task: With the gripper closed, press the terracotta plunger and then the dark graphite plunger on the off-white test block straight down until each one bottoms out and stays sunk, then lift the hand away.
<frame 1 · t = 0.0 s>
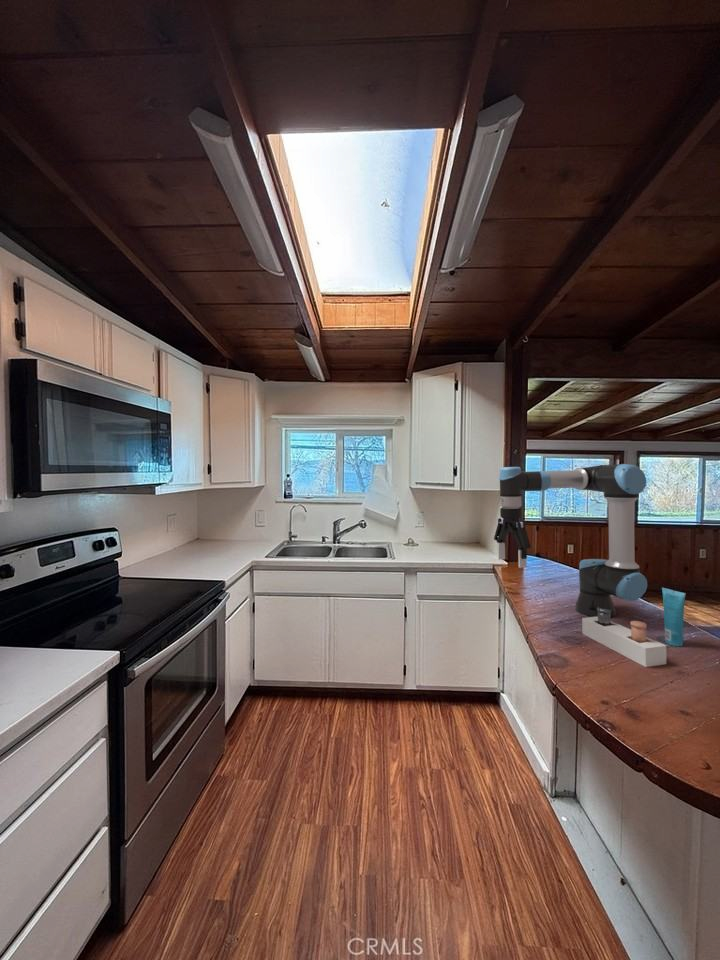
hand: (511, 563, 145), 28 cm above the table, fingers open, 13 cm apart
test block: (620, 647, 134), on the table
tube: (673, 644, 136), on the table
plunger rust: (638, 634, 127), point 8 cm above the table, slide at 0.0 cm
plunger graphite: (604, 618, 141), point 8 cm above the table, slide at 0.0 cm
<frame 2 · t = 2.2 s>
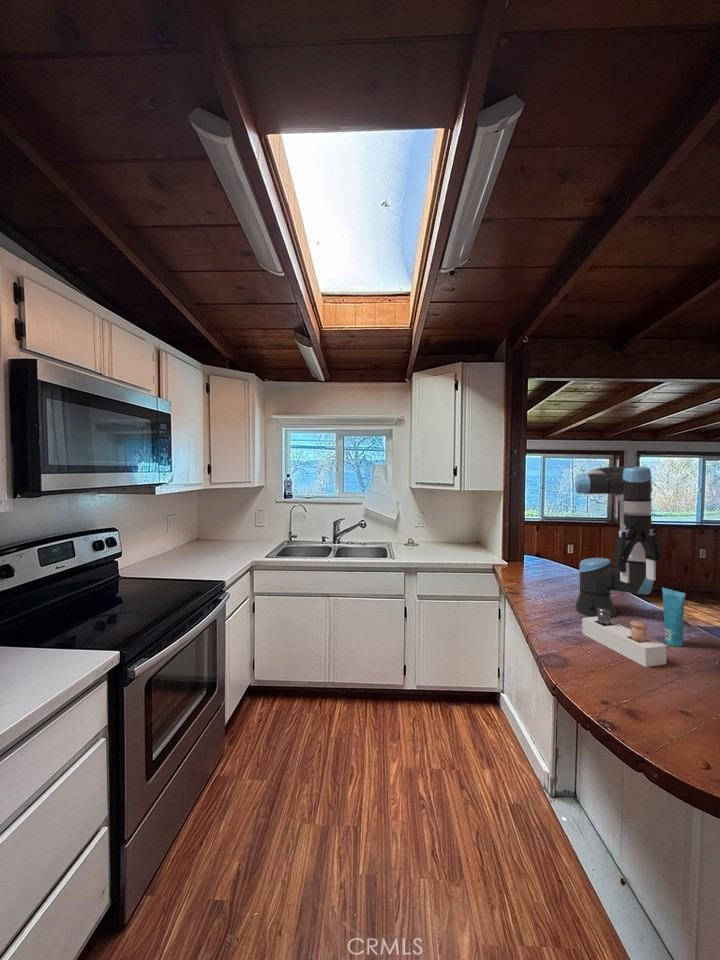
hand: (637, 580, 127), 26 cm above the table, fingers open, 10 cm apart
nothing on the table moved.
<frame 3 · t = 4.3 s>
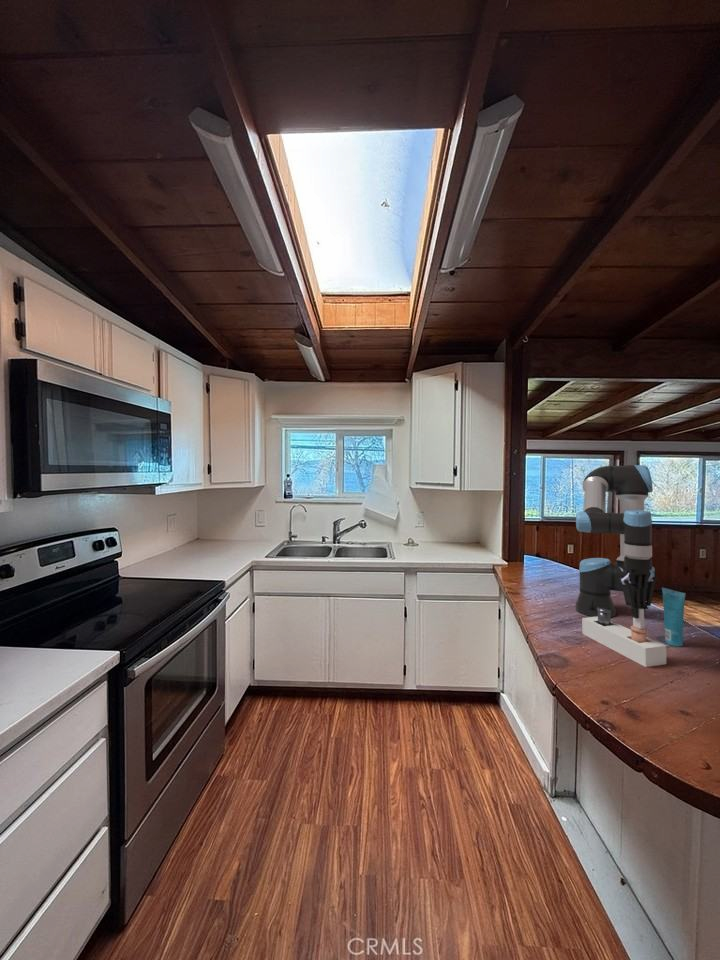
hand: (638, 627, 127), 10 cm above the table, fingers closed
plunger rust: (638, 638, 127), point 6 cm above the table, slide at 1.5 cm, touching gripper
everything else where it was.
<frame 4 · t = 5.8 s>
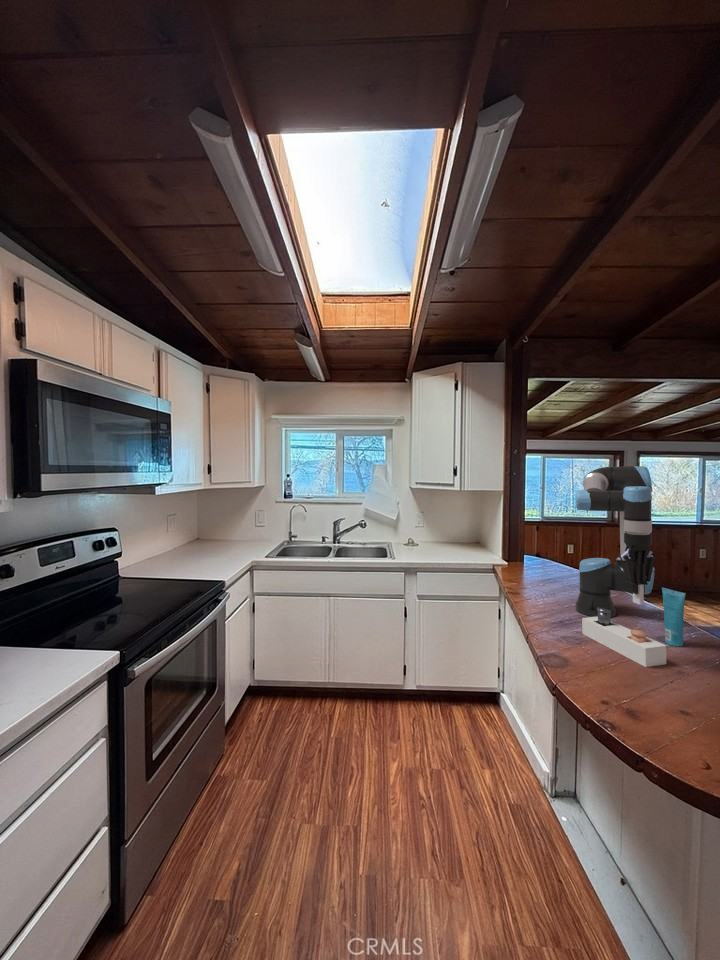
hand: (638, 603, 127), 18 cm above the table, fingers closed
plunger rust: (638, 642, 127), point 5 cm above the table, slide at 2.9 cm
everything else where it was.
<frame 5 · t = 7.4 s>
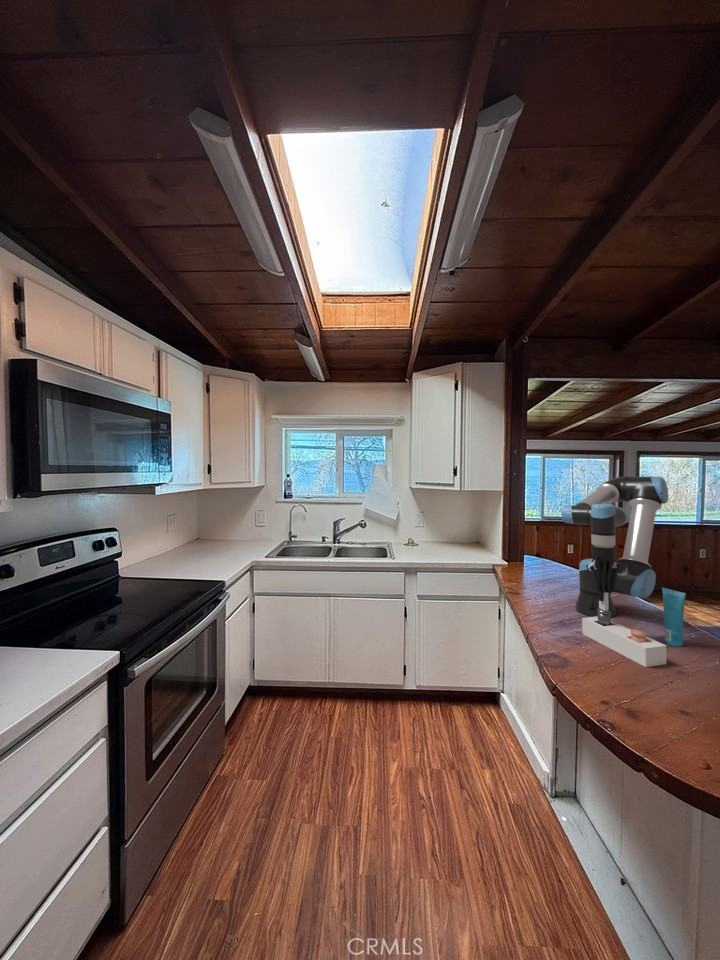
hand: (603, 609, 141), 11 cm above the table, fingers closed
plunger graphite: (604, 619, 141), point 7 cm above the table, slide at 0.4 cm, touching gripper
everything else where it was.
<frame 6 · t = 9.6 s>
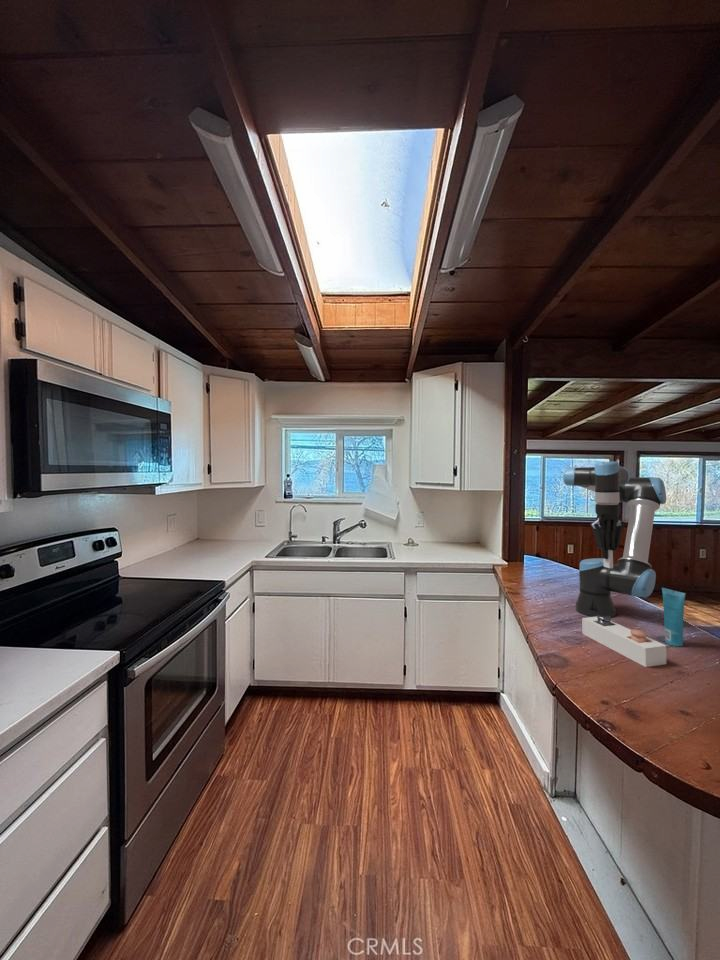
hand: (608, 567, 140), 27 cm above the table, fingers closed
plunger graphite: (604, 626, 141), point 5 cm above the table, slide at 2.9 cm
everything else where it was.
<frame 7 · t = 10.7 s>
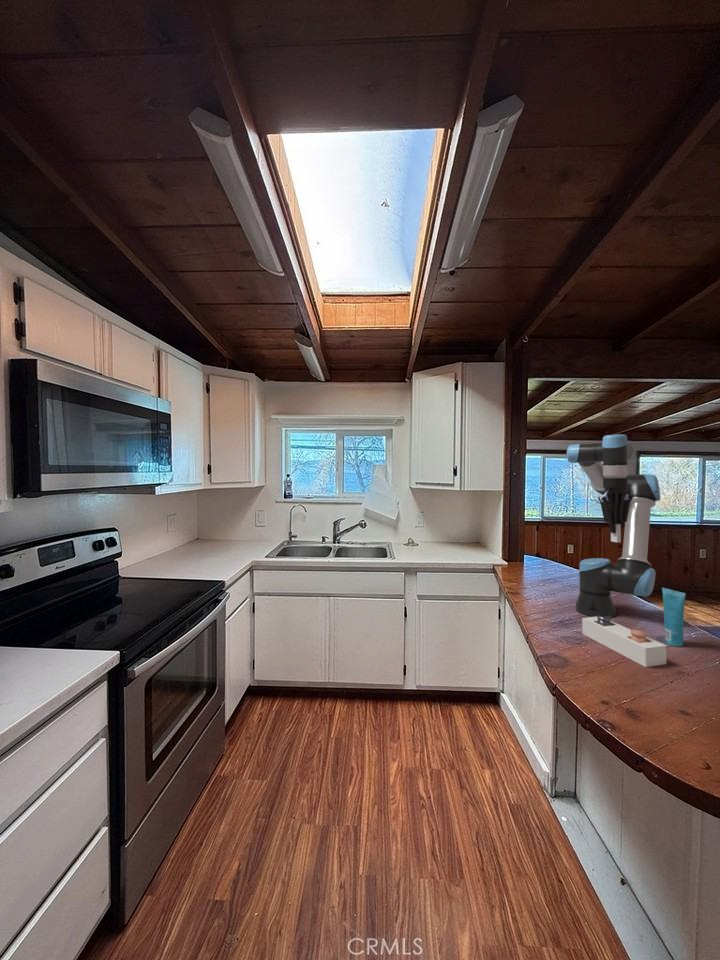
hand: (615, 541, 139), 36 cm above the table, fingers closed
nothing on the table moved.
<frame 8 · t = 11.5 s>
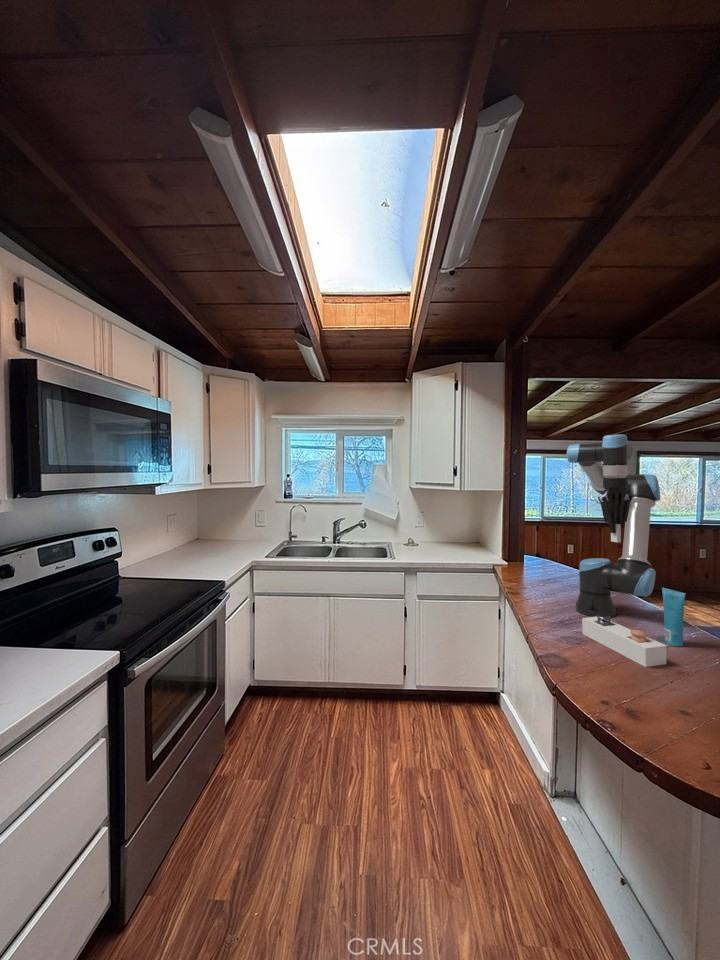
hand: (615, 541, 139), 36 cm above the table, fingers closed
nothing on the table moved.
at the end: plunger rust slide at 2.9 cm; plunger graphite slide at 2.9 cm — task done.
